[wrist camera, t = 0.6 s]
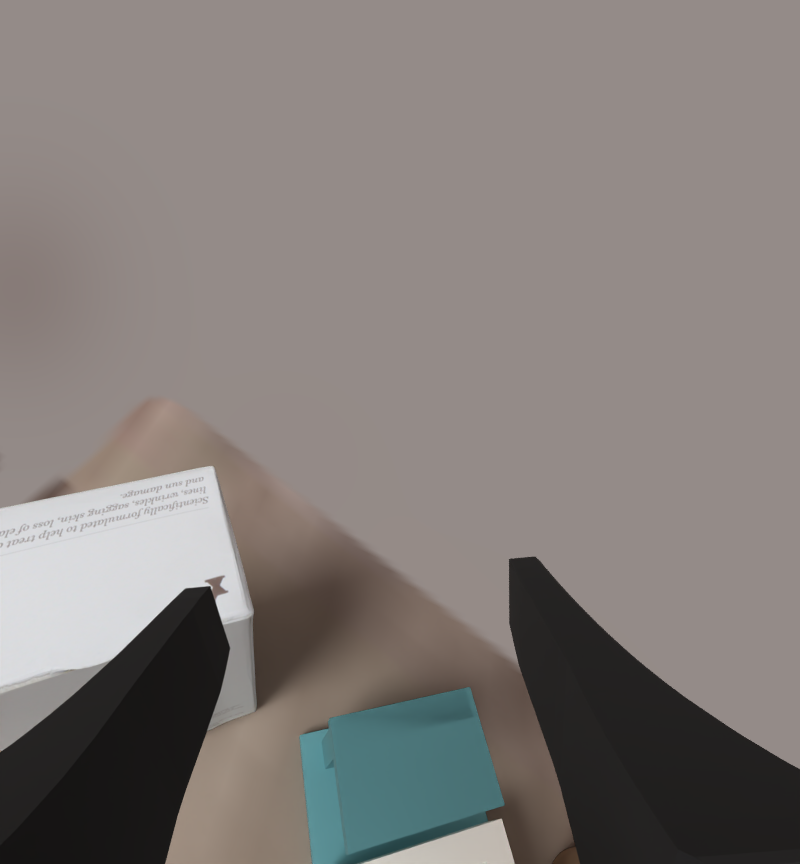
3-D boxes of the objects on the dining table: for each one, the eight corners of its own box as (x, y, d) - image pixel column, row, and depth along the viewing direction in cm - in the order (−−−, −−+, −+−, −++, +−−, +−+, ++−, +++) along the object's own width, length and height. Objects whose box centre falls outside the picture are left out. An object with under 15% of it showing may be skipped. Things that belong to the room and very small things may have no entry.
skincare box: (235, 609, 29) (227, 452, 18) (259, 719, 26) (268, 609, 15) (65, 659, 26) (-71, 503, 15) (68, 795, 22) (-103, 723, 11)
